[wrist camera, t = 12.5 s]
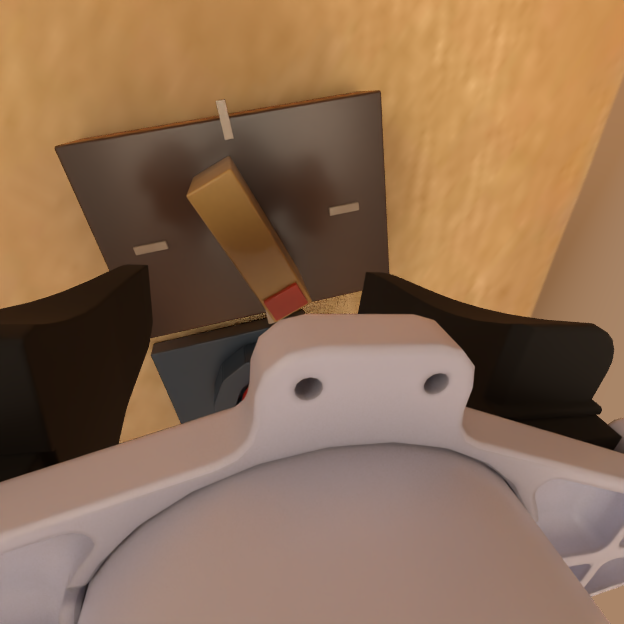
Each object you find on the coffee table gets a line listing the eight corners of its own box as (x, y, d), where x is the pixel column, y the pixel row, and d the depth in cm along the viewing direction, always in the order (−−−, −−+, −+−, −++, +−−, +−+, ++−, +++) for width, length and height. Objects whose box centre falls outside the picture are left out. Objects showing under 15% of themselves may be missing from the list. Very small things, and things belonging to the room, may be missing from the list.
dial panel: (153, 321, 22) (144, 352, 19) (72, 124, 17) (43, 129, 14) (372, 272, 23) (392, 296, 21) (358, 76, 18) (381, 72, 15)
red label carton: (192, 177, 16) (184, 197, 13) (229, 154, 16) (230, 169, 13) (267, 288, 19) (275, 326, 16) (298, 269, 19) (314, 305, 16)
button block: (194, 437, 27) (191, 473, 24) (153, 343, 23) (144, 374, 20) (323, 404, 28) (334, 436, 25) (307, 308, 24) (317, 334, 21)
